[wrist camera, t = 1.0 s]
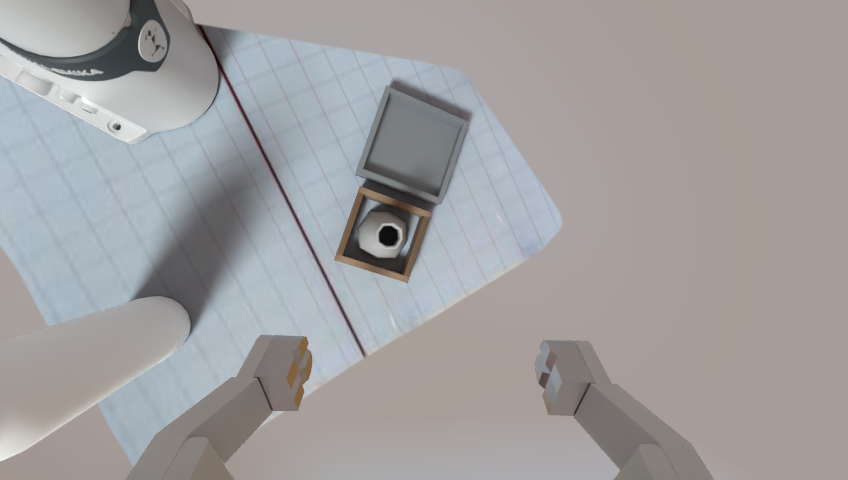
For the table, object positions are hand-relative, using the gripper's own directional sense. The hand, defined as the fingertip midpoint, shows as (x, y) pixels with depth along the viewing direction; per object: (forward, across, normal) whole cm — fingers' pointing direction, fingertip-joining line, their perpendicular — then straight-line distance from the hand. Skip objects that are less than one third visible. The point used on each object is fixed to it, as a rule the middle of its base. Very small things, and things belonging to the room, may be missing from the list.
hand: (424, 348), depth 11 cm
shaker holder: (+32, +6, +16) cm, 36 cm away
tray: (+39, +2, +6) cm, 40 cm away
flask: (+32, +6, +16) cm, 36 cm away
